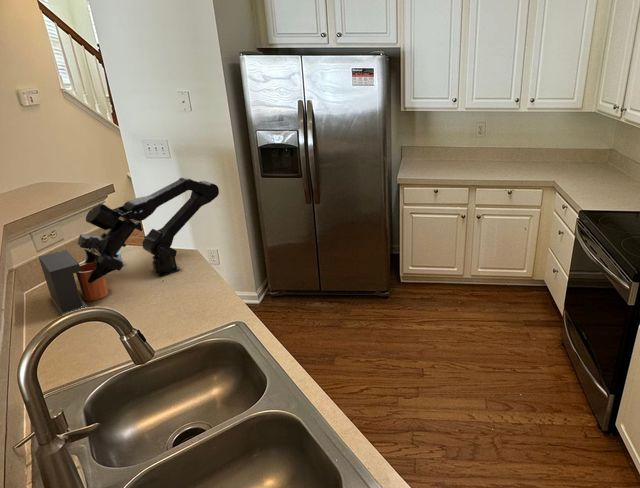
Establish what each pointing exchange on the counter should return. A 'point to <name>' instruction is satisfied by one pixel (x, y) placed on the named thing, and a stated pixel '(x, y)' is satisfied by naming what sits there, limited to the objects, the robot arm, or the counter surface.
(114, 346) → the counter surface
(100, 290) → the cup
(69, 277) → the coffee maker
